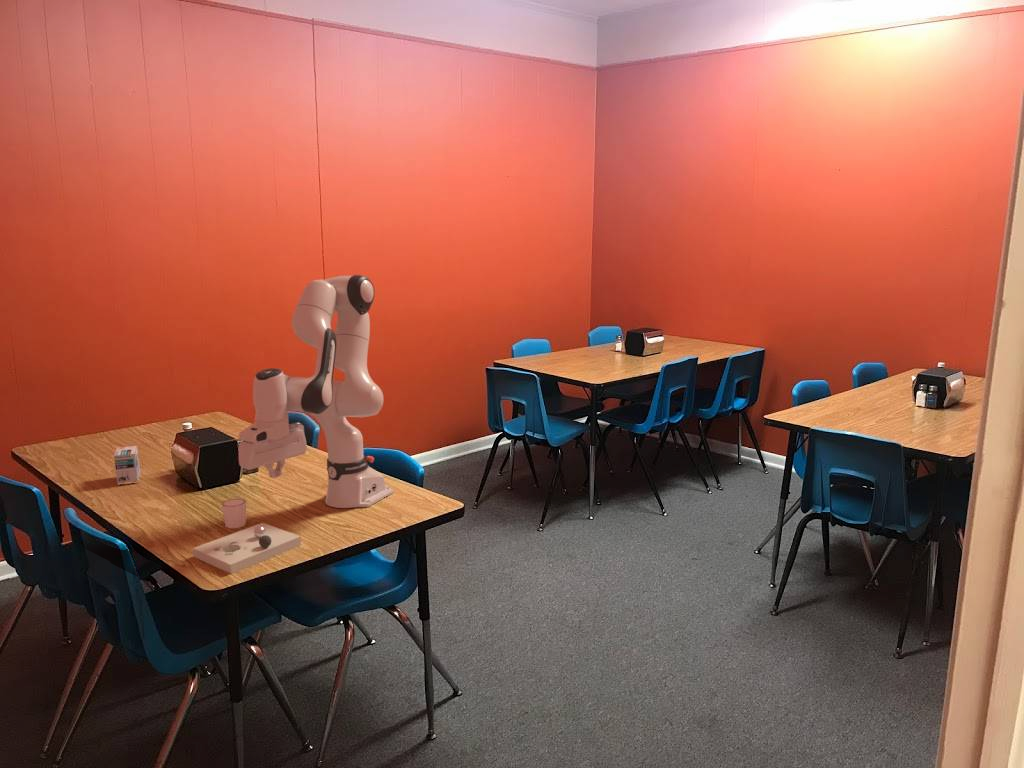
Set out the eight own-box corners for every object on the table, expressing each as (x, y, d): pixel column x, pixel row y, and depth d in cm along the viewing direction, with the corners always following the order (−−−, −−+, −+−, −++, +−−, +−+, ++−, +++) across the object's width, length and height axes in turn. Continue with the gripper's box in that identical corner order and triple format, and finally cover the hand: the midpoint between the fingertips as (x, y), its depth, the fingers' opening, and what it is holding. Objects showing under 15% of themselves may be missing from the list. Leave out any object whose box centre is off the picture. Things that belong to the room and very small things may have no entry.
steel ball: (261, 534, 216) (260, 523, 215) (268, 536, 214) (267, 526, 213) (251, 538, 213) (250, 527, 213) (258, 540, 212) (257, 529, 211)
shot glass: (250, 520, 233) (249, 498, 231) (243, 529, 226) (242, 506, 225) (227, 520, 233) (225, 498, 231) (220, 529, 226) (218, 506, 224)
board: (263, 530, 225) (262, 522, 224) (301, 544, 215) (300, 536, 214) (193, 556, 208) (192, 548, 207) (231, 573, 198) (230, 564, 197)
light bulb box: (138, 483, 265) (135, 453, 263) (116, 486, 263) (113, 455, 260) (140, 474, 275) (137, 445, 273) (119, 476, 272) (116, 447, 270)
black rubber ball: (266, 543, 210) (266, 532, 209) (274, 546, 208) (273, 535, 207) (256, 547, 207) (255, 536, 207) (264, 550, 206) (263, 539, 205)
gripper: (295, 419, 223) (298, 465, 225) (233, 434, 207) (237, 484, 209) (310, 422, 219) (312, 469, 222) (247, 438, 203) (251, 488, 206)
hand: (275, 476), depth 215 cm, fingers closed
